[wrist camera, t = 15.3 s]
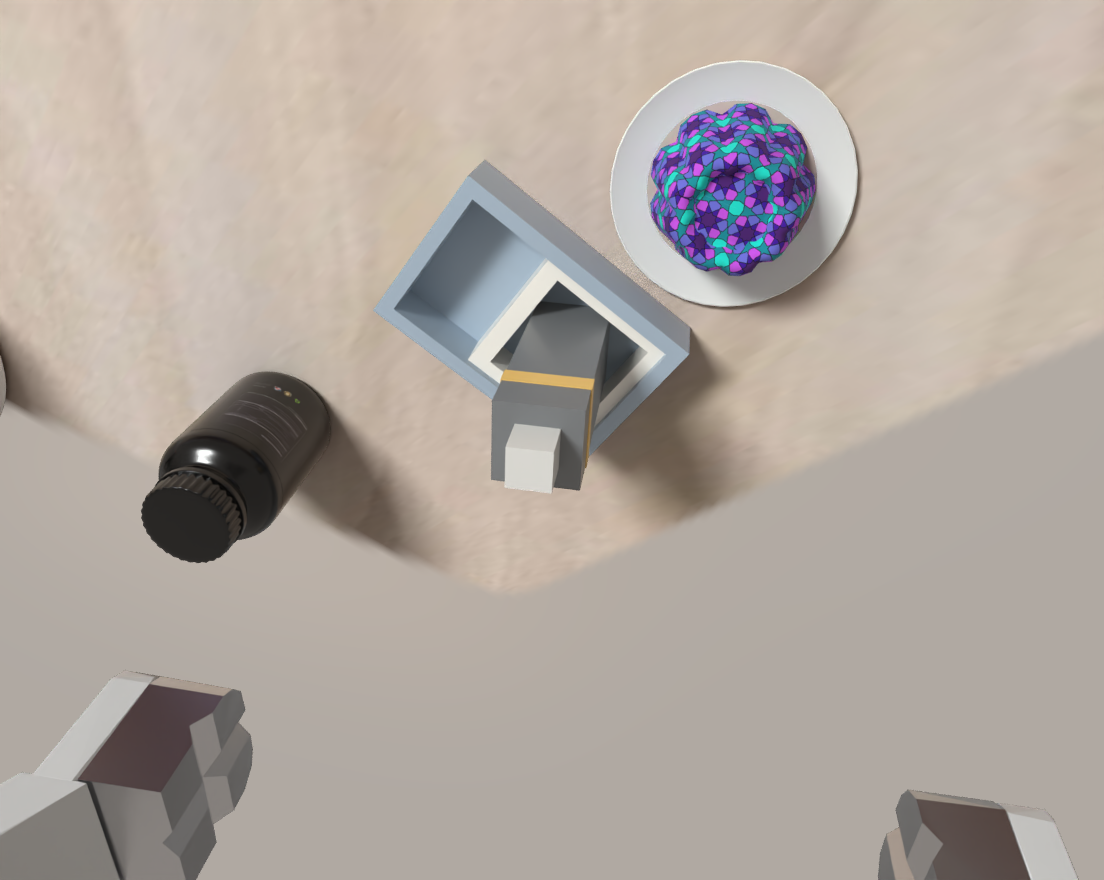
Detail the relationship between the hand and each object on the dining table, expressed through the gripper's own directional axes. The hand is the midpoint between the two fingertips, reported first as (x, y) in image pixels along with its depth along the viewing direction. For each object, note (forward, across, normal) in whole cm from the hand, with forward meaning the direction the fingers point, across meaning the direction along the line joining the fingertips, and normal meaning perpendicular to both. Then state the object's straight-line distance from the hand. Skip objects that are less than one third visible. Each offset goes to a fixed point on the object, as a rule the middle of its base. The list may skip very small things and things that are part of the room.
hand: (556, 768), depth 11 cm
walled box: (+37, +6, +9) cm, 39 cm away
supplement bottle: (+37, +22, +18) cm, 47 cm away
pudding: (+38, -3, +2) cm, 38 cm away
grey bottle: (+36, +4, +10) cm, 38 cm away
